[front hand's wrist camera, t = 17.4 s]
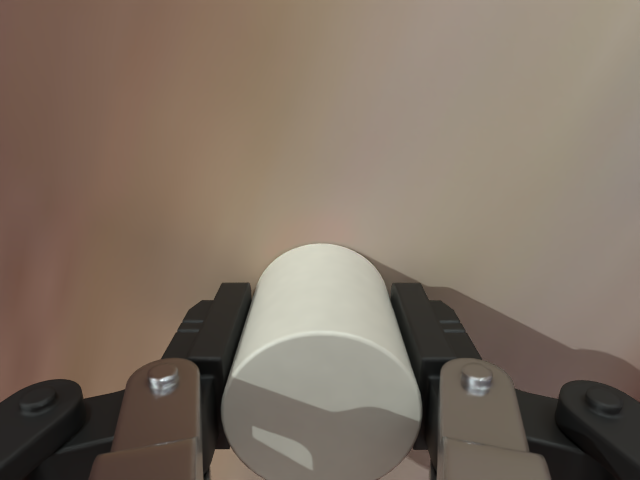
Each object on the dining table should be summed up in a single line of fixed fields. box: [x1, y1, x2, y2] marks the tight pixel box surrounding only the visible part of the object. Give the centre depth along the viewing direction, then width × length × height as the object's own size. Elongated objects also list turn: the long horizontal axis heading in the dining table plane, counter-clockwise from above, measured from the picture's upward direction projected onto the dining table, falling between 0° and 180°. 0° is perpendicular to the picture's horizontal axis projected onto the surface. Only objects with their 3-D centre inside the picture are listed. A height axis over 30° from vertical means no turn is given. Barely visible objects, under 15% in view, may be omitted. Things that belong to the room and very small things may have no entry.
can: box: [221, 244, 422, 480], centre depth 10 cm, size 4×4×4 cm
